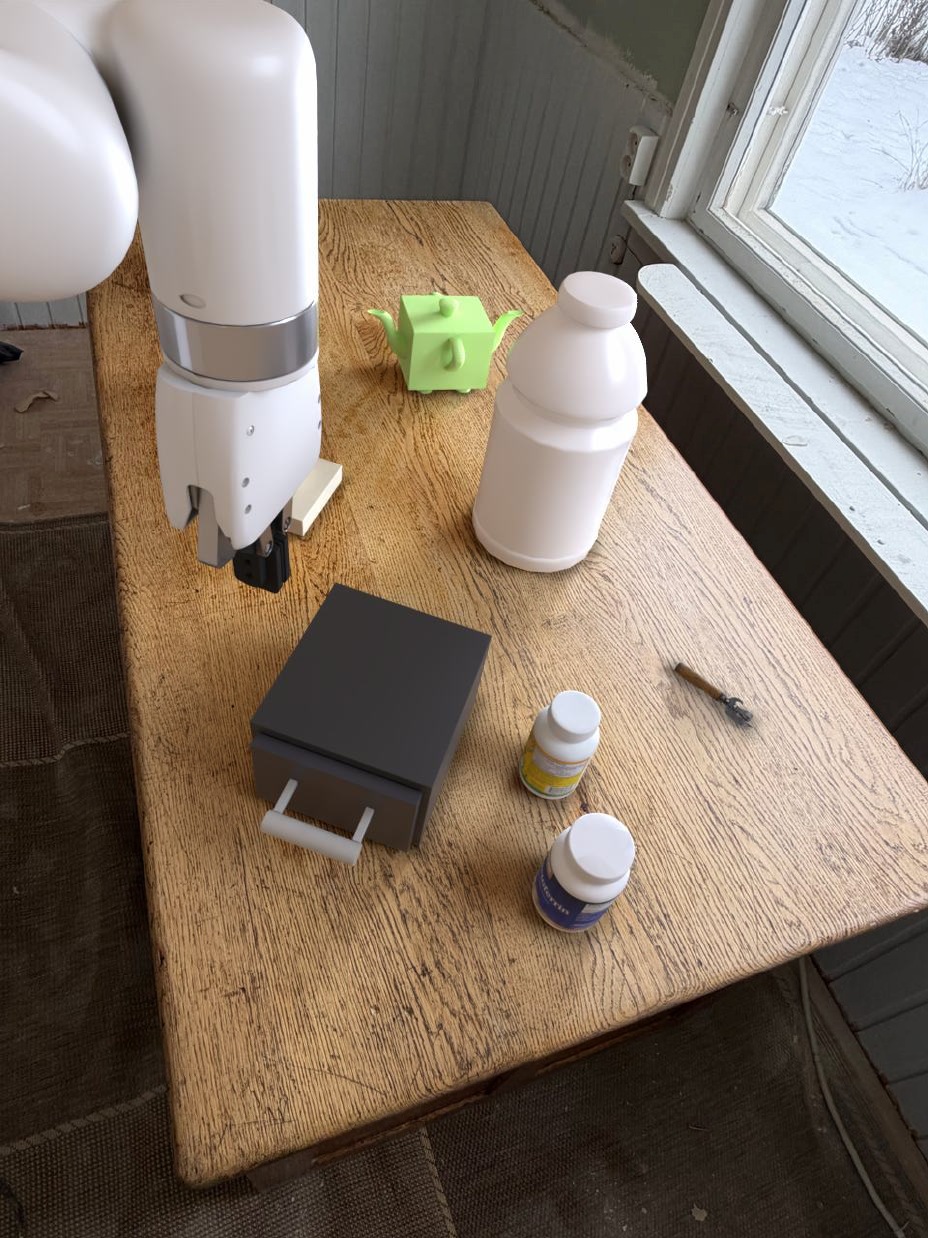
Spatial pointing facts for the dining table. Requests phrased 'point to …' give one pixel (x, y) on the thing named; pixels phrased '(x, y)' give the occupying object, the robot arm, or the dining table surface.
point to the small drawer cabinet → (379, 691)
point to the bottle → (561, 426)
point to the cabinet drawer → (330, 800)
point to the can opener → (716, 695)
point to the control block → (314, 494)
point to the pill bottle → (583, 872)
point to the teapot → (444, 341)
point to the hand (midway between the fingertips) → (262, 578)
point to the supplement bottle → (560, 745)
